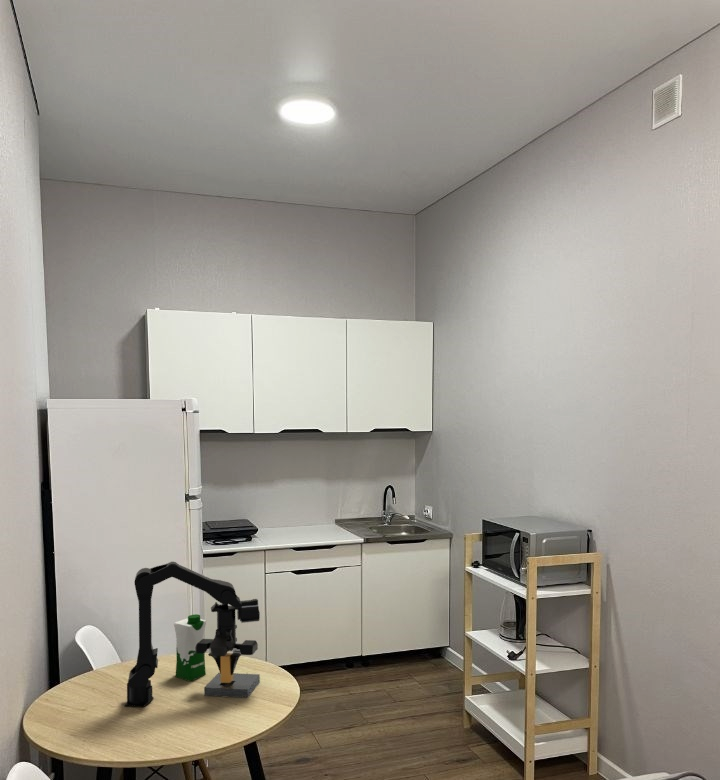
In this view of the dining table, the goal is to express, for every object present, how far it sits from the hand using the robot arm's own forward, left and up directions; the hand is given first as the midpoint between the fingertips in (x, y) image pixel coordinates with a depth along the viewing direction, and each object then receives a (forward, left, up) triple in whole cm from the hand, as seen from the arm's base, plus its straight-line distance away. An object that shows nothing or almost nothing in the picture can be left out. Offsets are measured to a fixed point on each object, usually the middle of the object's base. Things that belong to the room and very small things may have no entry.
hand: (226, 674), depth 210 cm
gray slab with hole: (+1, +2, -5) cm, 6 cm away
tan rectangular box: (0, 0, -2) cm, 2 cm away
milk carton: (-17, +11, -6) cm, 21 cm away
